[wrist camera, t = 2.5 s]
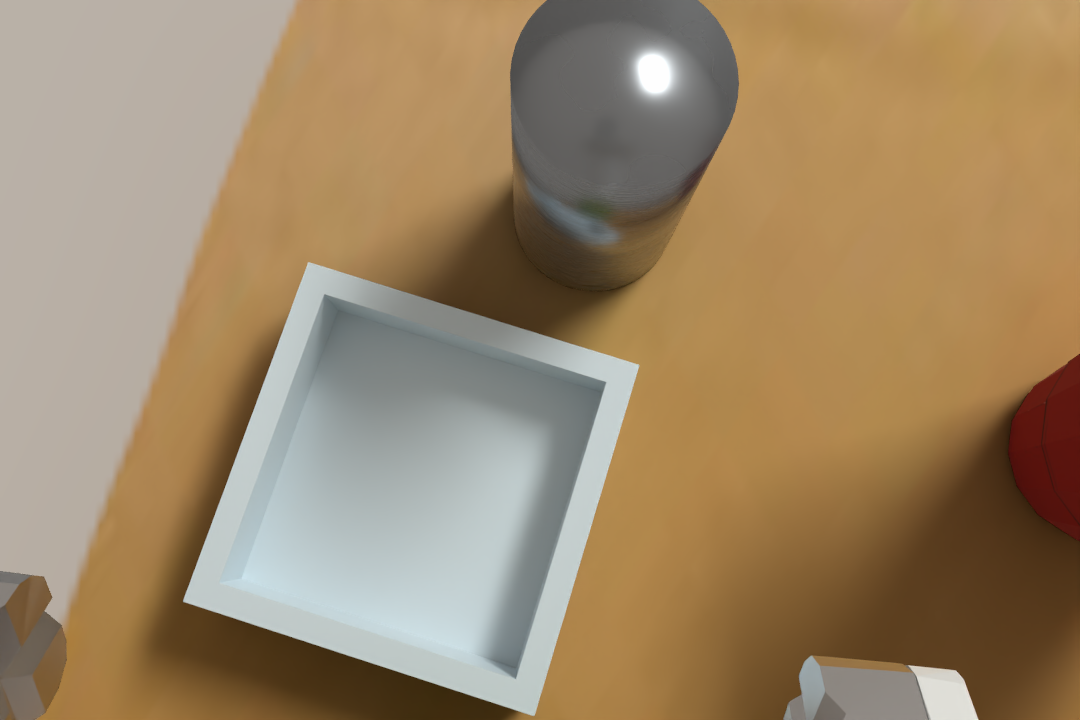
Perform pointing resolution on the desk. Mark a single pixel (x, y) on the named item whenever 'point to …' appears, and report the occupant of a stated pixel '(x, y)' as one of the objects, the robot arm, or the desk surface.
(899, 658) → the desk surface
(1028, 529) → the desk surface
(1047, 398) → the plastic cup
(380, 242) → the desk surface
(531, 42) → the tin
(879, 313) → the desk surface
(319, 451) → the tray
